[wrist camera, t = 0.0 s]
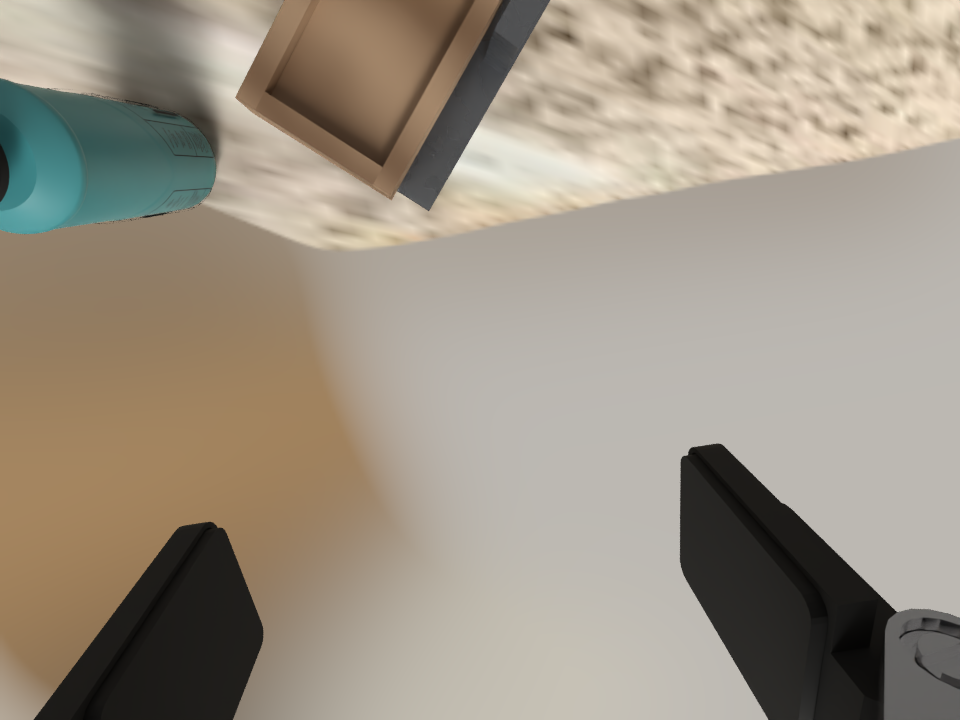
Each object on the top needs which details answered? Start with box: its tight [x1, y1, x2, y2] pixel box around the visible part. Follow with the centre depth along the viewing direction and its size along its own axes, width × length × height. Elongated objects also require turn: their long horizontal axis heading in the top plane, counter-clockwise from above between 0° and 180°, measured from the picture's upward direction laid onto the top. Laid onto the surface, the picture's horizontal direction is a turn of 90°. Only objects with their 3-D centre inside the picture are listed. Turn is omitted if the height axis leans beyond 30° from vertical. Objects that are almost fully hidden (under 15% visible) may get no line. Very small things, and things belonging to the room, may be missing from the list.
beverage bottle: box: [0, 78, 216, 234], centre depth 26 cm, size 6×7×20 cm
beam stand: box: [397, 0, 550, 211], centre depth 30 cm, size 19×13×9 cm
